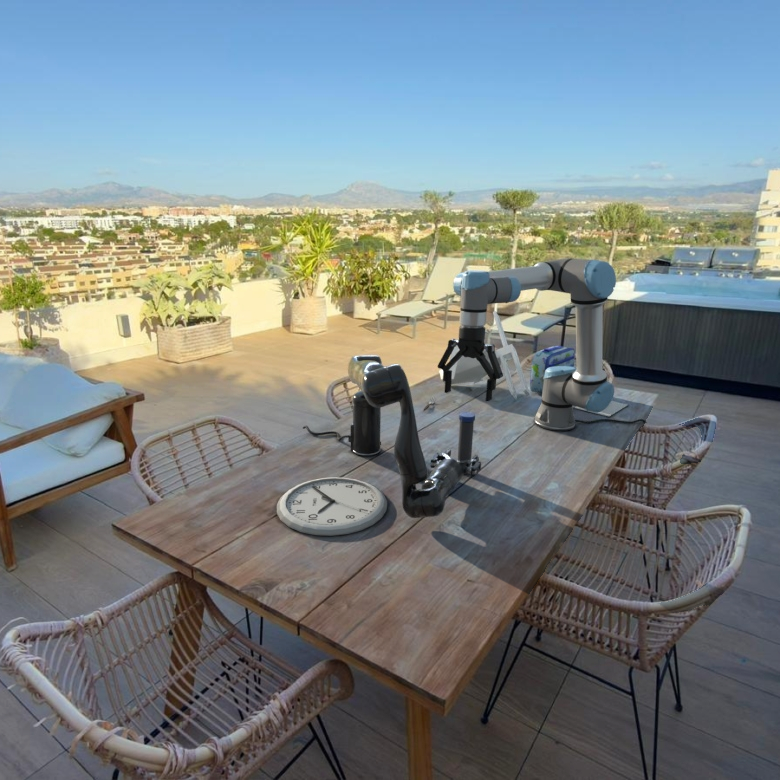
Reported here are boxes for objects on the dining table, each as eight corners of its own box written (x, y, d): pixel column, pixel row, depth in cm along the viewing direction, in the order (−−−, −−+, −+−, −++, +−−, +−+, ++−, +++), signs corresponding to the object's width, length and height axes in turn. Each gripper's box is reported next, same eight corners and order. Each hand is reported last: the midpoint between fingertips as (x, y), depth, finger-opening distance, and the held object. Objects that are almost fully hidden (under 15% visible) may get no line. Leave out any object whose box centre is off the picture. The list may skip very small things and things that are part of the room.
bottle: (454, 471, 164) (457, 415, 158) (461, 467, 167) (465, 412, 161) (465, 475, 161) (469, 419, 156) (472, 471, 164) (476, 415, 159)
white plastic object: (461, 429, 252) (437, 405, 227) (444, 352, 274) (420, 323, 250) (535, 404, 240) (518, 377, 215) (510, 326, 262) (492, 293, 237)
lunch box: (546, 399, 235) (551, 353, 228) (525, 393, 242) (530, 349, 236) (574, 387, 252) (579, 345, 246) (553, 383, 260) (558, 341, 253)
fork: (420, 411, 216) (420, 406, 216) (430, 400, 230) (431, 395, 230) (426, 412, 215) (426, 407, 215) (436, 401, 230) (436, 396, 229)
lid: (455, 419, 159) (456, 414, 158) (464, 415, 162) (465, 410, 162) (469, 423, 156) (469, 418, 155) (477, 419, 159) (478, 414, 159)
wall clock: (392, 527, 129) (268, 531, 127) (391, 533, 130) (269, 537, 127) (383, 473, 158) (282, 475, 155) (383, 478, 158) (282, 480, 156)
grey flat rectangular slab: (608, 416, 214) (573, 407, 224) (608, 416, 214) (573, 408, 224) (628, 404, 229) (594, 396, 238) (628, 405, 229) (594, 397, 238)
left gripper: (470, 469, 143) (486, 448, 157) (422, 459, 148) (441, 439, 162) (468, 494, 145) (484, 470, 159) (421, 483, 151) (440, 461, 165)
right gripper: (518, 328, 147) (511, 400, 153) (440, 319, 160) (437, 385, 166) (508, 332, 141) (502, 407, 147) (428, 322, 154) (425, 391, 160)
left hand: (462, 455), depth 161 cm, fingers open, 8 cm apart
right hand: (467, 396), depth 157 cm, fingers open, 13 cm apart
